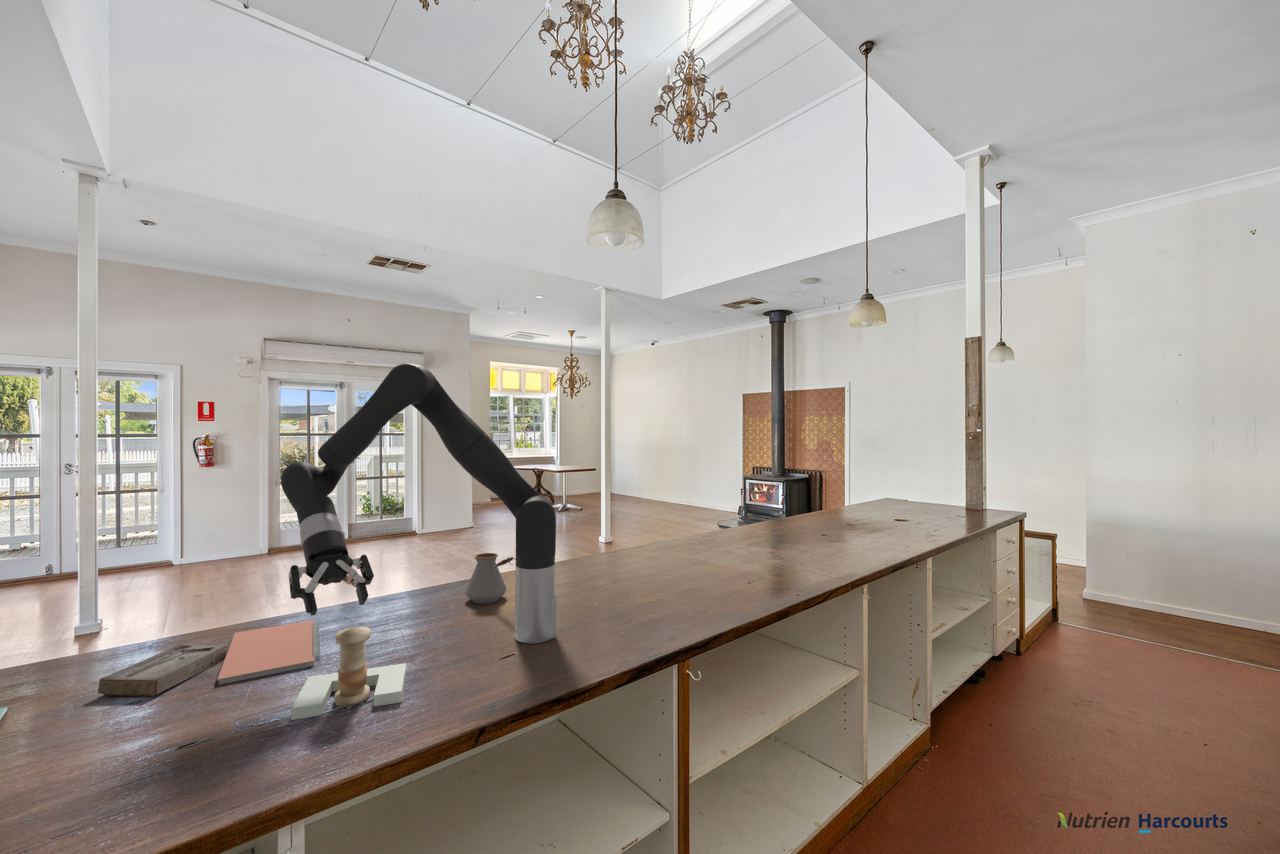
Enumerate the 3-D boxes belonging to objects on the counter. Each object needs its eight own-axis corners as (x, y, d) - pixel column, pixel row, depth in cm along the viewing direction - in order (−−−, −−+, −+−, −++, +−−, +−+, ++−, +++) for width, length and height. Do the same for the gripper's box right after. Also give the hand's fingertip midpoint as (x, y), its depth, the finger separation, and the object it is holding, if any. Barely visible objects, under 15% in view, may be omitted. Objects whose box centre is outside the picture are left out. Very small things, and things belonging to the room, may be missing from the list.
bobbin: (371, 688, 98) (372, 625, 98) (367, 702, 93) (368, 636, 93) (337, 693, 96) (338, 628, 96) (331, 708, 91) (332, 640, 91)
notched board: (406, 673, 104) (406, 663, 104) (401, 702, 93) (401, 691, 93) (308, 687, 98) (308, 676, 98) (291, 720, 87) (291, 708, 87)
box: (95, 696, 94) (97, 679, 94) (178, 657, 111) (179, 643, 111) (155, 698, 94) (156, 680, 94) (228, 659, 111) (229, 644, 112)
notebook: (320, 667, 108) (320, 657, 108) (216, 688, 99) (217, 677, 99) (318, 626, 131) (318, 618, 131) (234, 640, 122) (234, 631, 122)
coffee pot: (458, 599, 151) (459, 547, 151) (494, 591, 159) (495, 542, 159) (493, 618, 136) (493, 561, 136) (531, 608, 143) (531, 554, 144)
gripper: (286, 533, 101) (300, 606, 93) (364, 524, 112) (383, 589, 103) (279, 556, 105) (292, 627, 97) (355, 545, 115) (373, 609, 107)
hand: (339, 607), depth 100 cm, fingers open, 8 cm apart
